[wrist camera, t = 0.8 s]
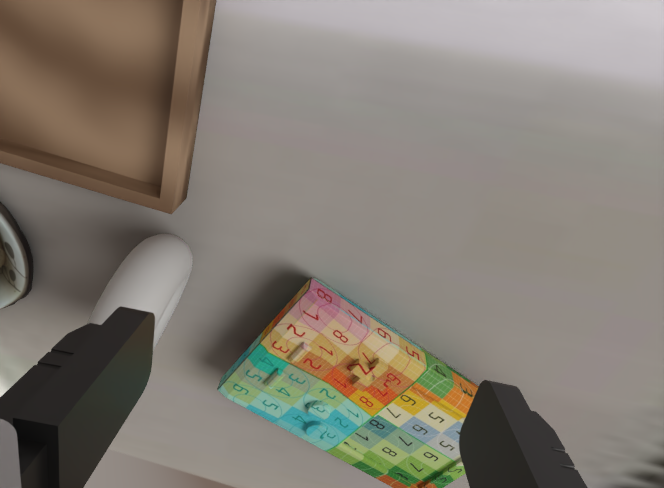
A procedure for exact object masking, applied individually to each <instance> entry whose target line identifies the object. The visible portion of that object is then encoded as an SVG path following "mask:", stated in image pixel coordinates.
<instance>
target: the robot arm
mask: <svg viewBox="0 0 664 488" xmlns="http://www.w3.org/2000/svg"><path fill="white" fill-rule="evenodd" d="M154 329H155V315H154V313H152V312H147V311H142V310H137V309H132V308H127V307H122V306H121V307H118V308H117V309H116V310H115V311H114V312H113V313H112V314H111V315H110V316H109V317H108V318H107V319H106V320H105V322H104V323H103V324H102V325H99V324H94V323H89V324H87V325H85V326H83V327H81V328H79V329H76V330H74V331H72V332H70V333H68V334H67V335H66V336H65V337H64V338H63V339H62V340H60V341H59V342H58V343H57V344H56V345H55V346H54V347H53V348H52V350H51V352H48V353H47V354H46V355H45V356H44V357H43V358H42V359H40V360H39V361H38V364H37V365H34V366H33V367H32V368H31V369H30V370H29V371H28V372H27V373H26V374H25V375H24V376H23V377H22V378H20V379H19V380H18V381H17V382H16V383H15V384H14V385H13V386H12V387H11V388H10V389H9V390H8V391H7V392H6V393H5V394H4V395H3V396H1V397H0V488H83V487H84V485H85V484H86V482H87V481H88V479H89V478H90V476H91V474H92V473H93V471H94V470H95V468H96V466H97V465H98V463H99V461H100V460H101V458H102V457H103V455H104V454H105V452H106V450H107V449H108V447H109V446H110V444H111V443H112V441H113V439H114V438H115V436H116V435H117V433H118V431H119V430H120V428H121V427H122V425H123V423H124V422H125V420H126V419H127V417H128V415H129V414H130V412H131V411H132V409H133V408H134V406H135V404H136V403H137V401H138V400H139V398H140V396H141V395H142V393H143V391H144V389H145V387H146V385H147V382H148V379H149V376H150V372H151V366H152V355H153V342H154ZM459 450H460V455H461V459H462V462H463V466H464V469H465V472H466V476H467V479H468V482H469V486H470V488H587V486H586V485H585V483H584V481H583V479H582V478H581V476H580V474H579V472H578V471H577V470H575V469H574V467H575V466H574V464H573V462H572V460H571V459H570V457H569V455H568V453H565V448H564V446H563V445H562V443H561V441H560V440H559V438H558V436H557V434H556V433H555V431H554V430H553V429H552V428H551V427H550V425H549V424H548V423H547V422H546V421H545V420H544V419H543V418H542V417H541V416H540V415H539V414H538V413H537V412H534V411H531V410H530V408H529V406H528V405H527V403H526V401H525V399H524V397H523V395H522V394H521V392H520V390H519V389H518V388H517V387H516V386H512V385H507V384H502V383H497V382H492V381H487V380H484V381H483V382H481V384H480V385H479V387H478V389H477V392H476V394H475V396H474V399H473V401H472V403H471V406H470V408H469V410H468V413H467V415H466V418H465V420H464V422H463V425H462V427H461V431H460V436H459Z"/></svg>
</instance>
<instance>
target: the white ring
mask: <svg viewBox="0 0 664 488" xmlns="http://www.w3.org/2000/svg"><path fill="white" fill-rule="evenodd" d="M192 266H193V263H192V253H191V250H190V248H189V246H188V245H187V244H186V242H185V241H184V240H182V239H181V238H179V237H178V236H175V235H171V234H158V235H155V236H152V237H149V238H146V239H145V240H143V241H142V242H141V243H139V244H138V245H137V246H136V247H135V248H134V249H133V250H132V251H131V252H130V253H129V254H128V256H127V257H126V258H125V259H124V261H123V262H122V263H121V264H120V266H119V267H118V269H117V270H116V272H115V273H114V275H113V276H112V278H111V279H110V281H109V283H108V284H107V286H106V288H105V290H104V291H103V293H102V295H101V297H100V298H99V300H98V302H97V304H96V306H95V308H94V310H93V312H92V314H91V316H90V318H89V320H88V323H87V324H89V323H94V324H99V325H102V324H103V323H104V322H105V320H106V319H107V318H108V317H109V316H110V315H111V314H112V313H113V312H114V311H115V310H116V309H117V308H118V307H121V306H122V307H127V308H132V309H137V310H142V311H147V312H152V313H154V315H155V329H154V342H153V350H154V348H155V346H156V345H157V343H158V341H159V339H160V337H161V335H162V334H163V332H164V330H165V328H166V326H167V324H168V322H169V320H170V318H171V316H172V314H173V312H174V310H175V308H176V306H177V304H178V302H179V300H180V297H181V295H182V293H183V291H184V288H185V286H186V284H187V281H188V278H189V275H190V272H191V269H192Z"/></svg>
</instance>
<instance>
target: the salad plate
mask: <svg viewBox="0 0 664 488" xmlns="http://www.w3.org/2000/svg"><path fill="white" fill-rule="evenodd" d="M32 279H33V259H32V255H31V251H30V248H29V245H28V243H27V240H26V238H25V236H24V235H23V233H22V232H21V230H20V228H19V226H18V225H17V223H16V221H15V219H14V218H13V216H12V215H11V214H10V212H9V211H8V210H7V208H6V207H5V206H4V205H3V204H2V203H1V202H0V309H2V308H5V307H8V306H10V305H13V304H15V303H16V302H17V301H18V300H20V299H22V298H24V297H26V296H27V295H28V294H29V292H30V290H31V287H32Z"/></svg>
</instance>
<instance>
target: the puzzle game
mask: <svg viewBox="0 0 664 488" xmlns="http://www.w3.org/2000/svg"><path fill="white" fill-rule="evenodd" d="M478 387H479V386H477V385H476V384H474V383H473V382H471V381H470V380H468V379H467V378H465V377H464V376H462V375H461V374H459V373H458V372H456V371H455V370H453V369H452V368H450V367H449V366H447V365H446V364H444V363H443V362H441V361H440V360H438V359H437V358H435V357H434V356H432V355H431V354H429V353H428V352H426V351H425V350H423V349H422V348H420V347H419V346H417V345H416V344H414V343H413V342H411V341H410V340H408V339H407V338H405V337H404V336H402V335H401V334H399V333H398V332H396V331H395V330H393V329H392V328H390V327H389V326H387V325H386V324H384V323H383V322H381V321H380V320H378V319H377V318H375V317H373V316H372V315H370V314H369V313H367V312H366V311H364V310H363V309H361V308H360V307H358V306H357V305H355V304H354V303H352V302H351V301H349V300H348V299H346V298H345V297H343V296H342V295H340V294H339V293H337V292H336V291H334V290H333V289H331V288H330V287H328V286H327V285H325V284H324V283H322V282H321V281H319V280H318V279H315V278H310V279H309V280H308V282H307V283H306V284H305V285H304V286H303V287H302V288H301V289H300V290H299V292H298V293H297V294H296V295H295V296H294V297H293V298H292V299H291V301H290V302H289V303H288V304H287V305H286V306H285V307H284V308H283V309H282V311H281V312H280V313H279V314H278V315H277V316H276V317H275V318H274V320H273V321H272V322H271V323H270V324H269V325H268V326H267V327H266V329H265V330H264V331H263V332H262V333H261V334H260V335H259V336H258V337H257V339H256V340H255V341H254V342H253V343H252V344H251V345H250V346H249V348H248V349H247V350H246V351H245V352H244V353H243V354H242V355H241V356H240V358H239V359H238V360H237V361H236V362H235V363H234V364H233V365H232V367H231V368H230V369H229V370H228V371H227V372H226V373H225V374H224V376H223V377H222V379H221V381H220V384H219V386H218V390H219V391H220V392H221V393H222V394H223V395H224V396H225V397H226V398H228V399H230V400H232V401H233V402H235V403H237V404H239V405H241V406H243V407H245V408H246V409H248V410H250V411H252V412H254V413H256V414H258V415H259V416H261V417H263V418H265V419H267V420H269V421H271V422H272V423H274V424H276V425H278V426H280V427H282V428H284V429H285V430H287V431H289V432H291V433H293V434H295V435H297V436H298V437H300V438H302V439H304V440H306V441H308V442H310V443H311V444H313V445H315V446H317V447H319V448H321V449H323V450H324V451H326V452H328V453H330V454H332V455H334V456H336V457H337V458H339V459H341V460H343V461H345V462H347V463H349V464H350V465H352V466H354V467H356V468H358V469H360V470H362V471H363V472H365V473H367V474H369V475H371V476H373V477H375V478H376V479H378V480H380V481H382V482H384V483H386V484H388V485H389V486H391V487H393V488H443V487H445V486H446V485H448V484H449V483H451V482H452V481H454V480H456V479H457V478H459V477H460V476H462V475H464V474H465V473H466V472H465V469H464V466H463V462H462V459H461V455H460V450H459V436H460V431H461V427H462V425H463V422H464V420H465V418H466V415H467V413H468V410H469V408H470V406H471V403H472V401H473V399H474V396H475V394H476V392H477V389H478Z"/></svg>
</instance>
